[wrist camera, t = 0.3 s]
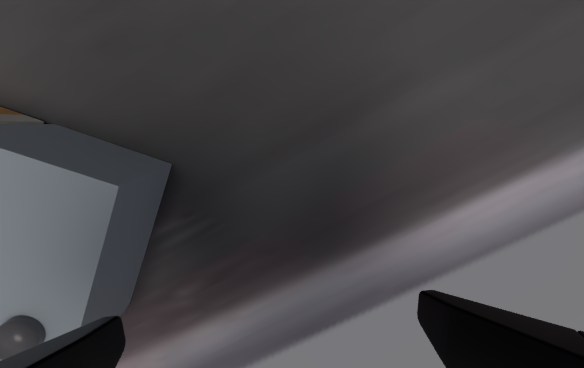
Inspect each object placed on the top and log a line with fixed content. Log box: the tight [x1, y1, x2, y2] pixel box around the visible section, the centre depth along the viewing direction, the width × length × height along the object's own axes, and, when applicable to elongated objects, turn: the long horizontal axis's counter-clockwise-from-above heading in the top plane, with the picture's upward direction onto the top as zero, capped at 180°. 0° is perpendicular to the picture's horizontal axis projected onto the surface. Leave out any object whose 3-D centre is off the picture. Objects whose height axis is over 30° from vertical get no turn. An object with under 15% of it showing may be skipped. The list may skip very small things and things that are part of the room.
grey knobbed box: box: [0, 124, 172, 361], centre depth 17 cm, size 14×8×8 cm, turn 159°
